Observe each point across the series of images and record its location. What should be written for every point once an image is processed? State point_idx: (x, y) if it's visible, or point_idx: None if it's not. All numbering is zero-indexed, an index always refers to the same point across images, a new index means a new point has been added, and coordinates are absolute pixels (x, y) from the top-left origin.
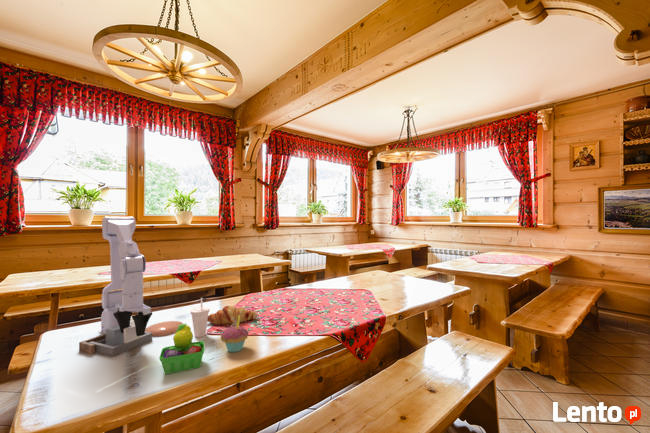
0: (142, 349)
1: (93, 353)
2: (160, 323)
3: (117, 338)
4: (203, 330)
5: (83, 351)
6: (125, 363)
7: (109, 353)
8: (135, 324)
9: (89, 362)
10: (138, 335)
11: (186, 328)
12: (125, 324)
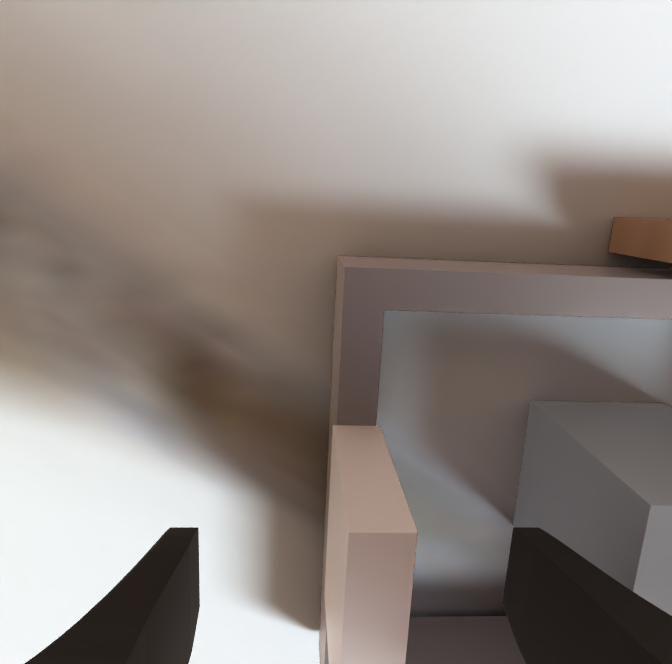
0: (223, 483)
1: (616, 238)
2: None
3: (570, 476)
4: None
5: None
6: (69, 212)
7: (393, 259)
8: (105, 654)
9: (469, 96)
10: (162, 539)
11: None
12: (566, 656)
